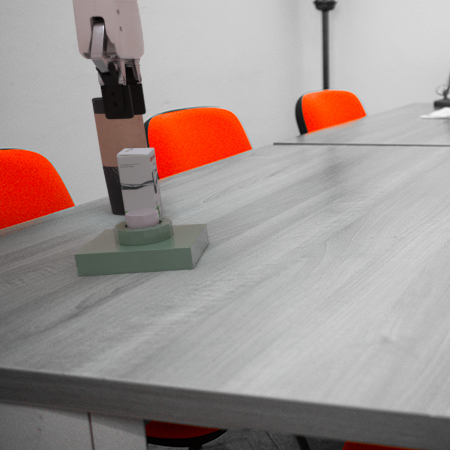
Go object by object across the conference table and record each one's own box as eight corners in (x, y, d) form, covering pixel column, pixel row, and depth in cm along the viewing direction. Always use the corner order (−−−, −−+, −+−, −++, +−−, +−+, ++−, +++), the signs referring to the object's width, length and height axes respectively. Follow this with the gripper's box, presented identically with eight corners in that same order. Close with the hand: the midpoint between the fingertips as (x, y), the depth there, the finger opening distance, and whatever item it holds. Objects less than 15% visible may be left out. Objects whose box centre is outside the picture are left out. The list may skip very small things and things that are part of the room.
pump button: (123, 231, 74) (120, 216, 74) (132, 223, 78) (130, 208, 78) (155, 229, 75) (153, 214, 74) (163, 221, 79) (161, 207, 78)
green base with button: (78, 276, 72) (70, 239, 70) (108, 248, 82) (103, 215, 81) (193, 269, 74) (188, 232, 72) (209, 242, 84) (205, 210, 83)
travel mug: (164, 204, 107) (148, 95, 101) (141, 216, 99) (123, 98, 94) (126, 204, 108) (109, 96, 102) (101, 215, 100) (80, 99, 95)
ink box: (159, 225, 94) (148, 153, 90) (126, 228, 92) (114, 155, 89) (164, 212, 102) (154, 145, 98) (134, 214, 100) (123, 147, 97)
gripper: (95, -30, 75) (118, 111, 80) (34, -54, 59) (67, 125, 64) (155, -30, 76) (173, 110, 81) (111, -54, 60) (137, 123, 65)
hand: (126, 115), depth 72 cm, fingers open, 4 cm apart
